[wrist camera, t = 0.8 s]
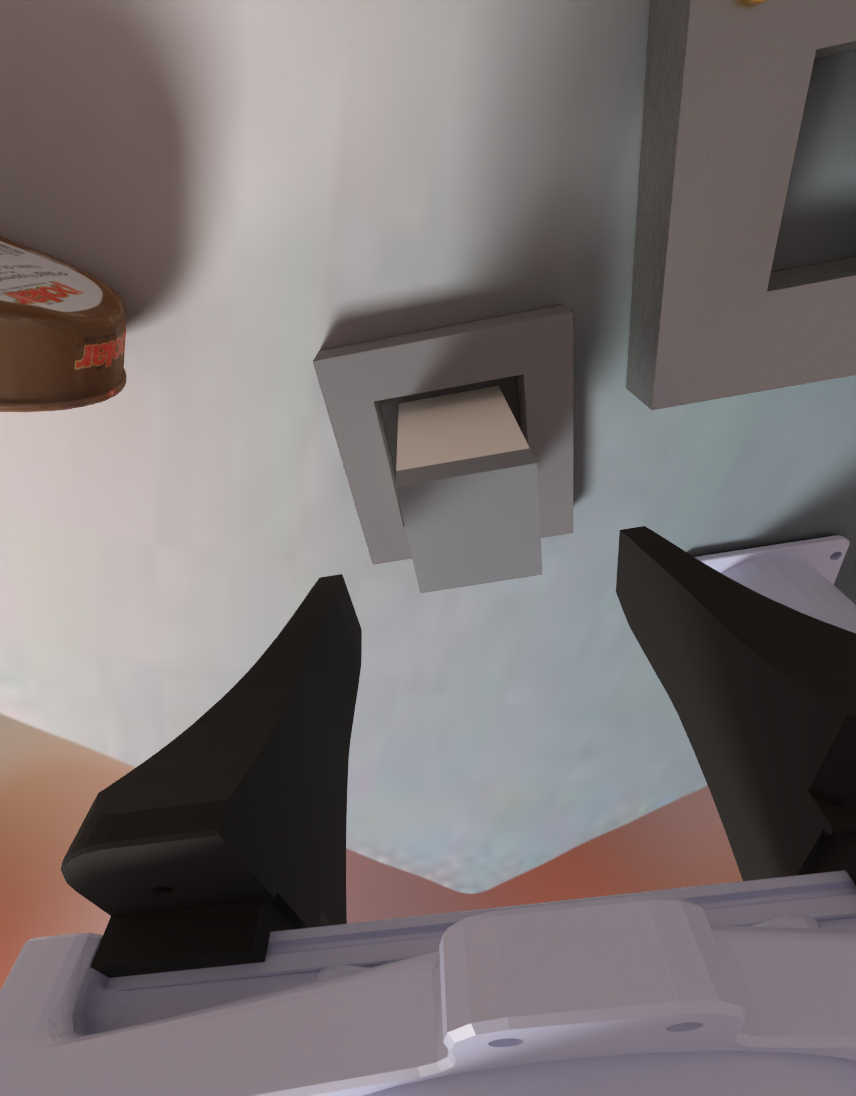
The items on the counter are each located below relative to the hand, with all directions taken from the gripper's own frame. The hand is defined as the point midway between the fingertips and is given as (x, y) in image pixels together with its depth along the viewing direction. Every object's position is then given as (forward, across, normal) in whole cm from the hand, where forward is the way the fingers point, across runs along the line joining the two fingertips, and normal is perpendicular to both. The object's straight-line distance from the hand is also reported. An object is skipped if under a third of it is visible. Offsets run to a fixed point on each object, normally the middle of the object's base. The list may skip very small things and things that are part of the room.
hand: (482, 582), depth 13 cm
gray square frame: (+9, 0, 0) cm, 9 cm away
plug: (+9, 0, 0) cm, 9 cm away
